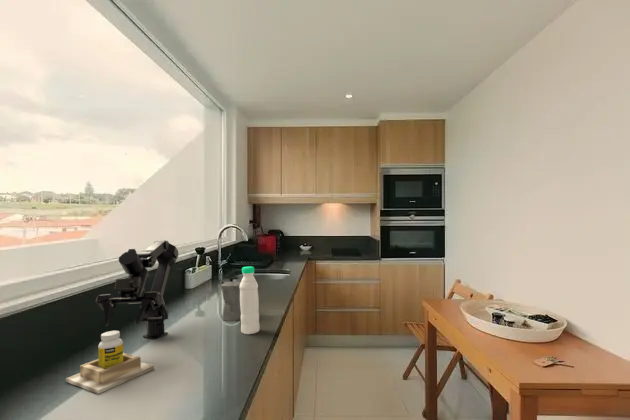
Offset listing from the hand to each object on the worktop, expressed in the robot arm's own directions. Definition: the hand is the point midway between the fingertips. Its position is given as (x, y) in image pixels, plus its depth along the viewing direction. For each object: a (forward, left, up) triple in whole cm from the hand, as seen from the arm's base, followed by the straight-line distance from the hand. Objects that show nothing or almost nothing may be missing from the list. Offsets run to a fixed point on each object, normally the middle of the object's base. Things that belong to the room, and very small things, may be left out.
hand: (121, 325), depth 107 cm
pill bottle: (+4, -6, -11) cm, 13 cm away
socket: (+4, -6, -12) cm, 14 cm away
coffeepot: (-4, +52, -12) cm, 54 cm away
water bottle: (+17, +40, -12) cm, 45 cm away
